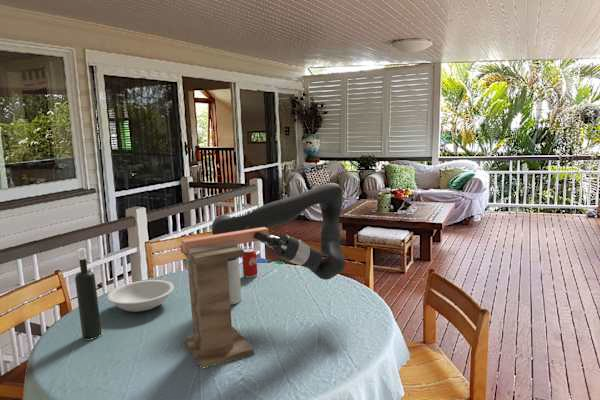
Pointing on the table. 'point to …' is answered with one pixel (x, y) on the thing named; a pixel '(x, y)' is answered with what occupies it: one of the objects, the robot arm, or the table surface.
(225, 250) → the wooden pedestal
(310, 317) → the table surface
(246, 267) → the beverage can
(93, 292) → the wine bottle
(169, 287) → the soup bowl
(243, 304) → the table surface
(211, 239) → the stick
